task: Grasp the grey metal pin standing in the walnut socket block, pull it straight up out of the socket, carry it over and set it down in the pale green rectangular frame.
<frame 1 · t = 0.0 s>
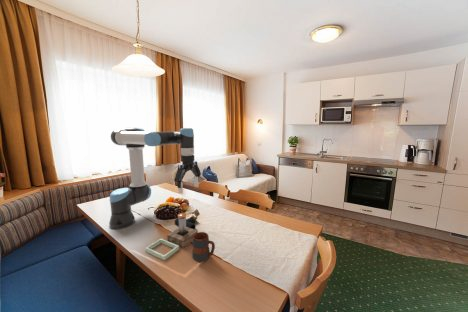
hand: (188, 189, 116), 28 cm above the table, fingers open, 13 cm apart
pale green rectangular frame: (162, 252, 102), on the table
mug: (204, 258, 98), on the table
pin: (183, 239, 112), point 1 cm above the table, touching socket block
pipe connector: (188, 226, 130), on the table
socket block: (183, 240, 112), on the table
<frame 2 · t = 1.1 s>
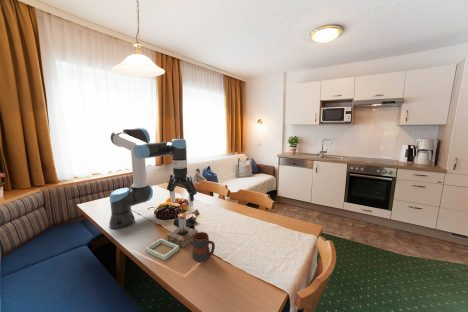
hand: (181, 204, 109), 22 cm above the table, fingers open, 13 cm apart
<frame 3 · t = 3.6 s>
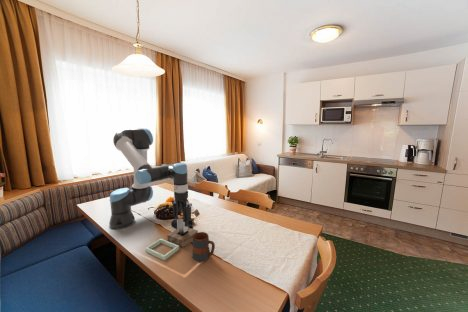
hand: (182, 230, 111), 7 cm above the table, fingers closed on pin, 4 cm apart
pin: (183, 239, 112), point 1 cm above the table, touching gripper, socket block
pipe connector: (185, 227, 128), on the table
everything else where it was.
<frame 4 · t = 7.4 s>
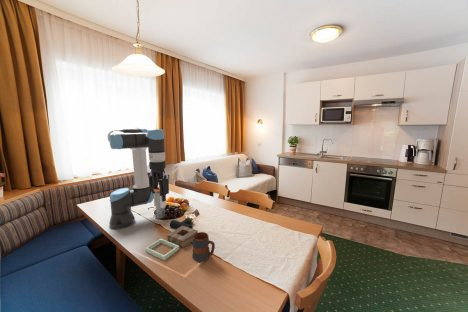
hand: (159, 206, 98), 26 cm above the table, fingers closed on pin, 4 cm apart
pin: (160, 216, 99), point 20 cm above the table, touching gripper
when the fingers open (8 cm above the table, at t = 11.2 s): pin drops 1 cm, resting on pale green rectangular frame.
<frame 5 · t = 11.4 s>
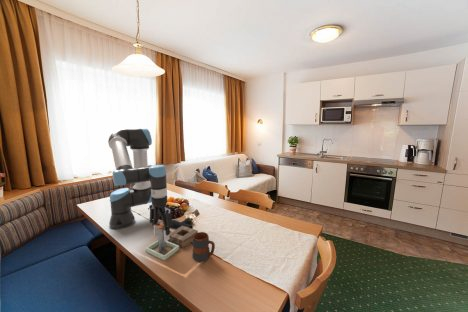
hand: (161, 237, 101), 8 cm above the table, fingers open, 7 cm apart
pin: (162, 250, 102), point 1 cm above the table, touching pale green rectangular frame
everything else where it was.
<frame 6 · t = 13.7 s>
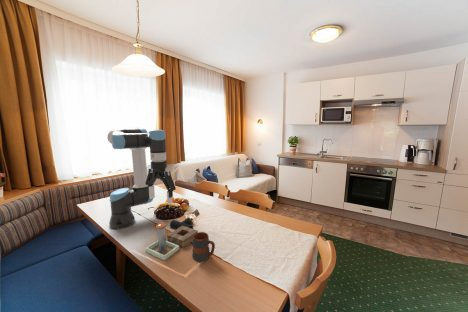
hand: (160, 200, 101), 27 cm above the table, fingers open, 13 cm apart
nothing on the table moved.
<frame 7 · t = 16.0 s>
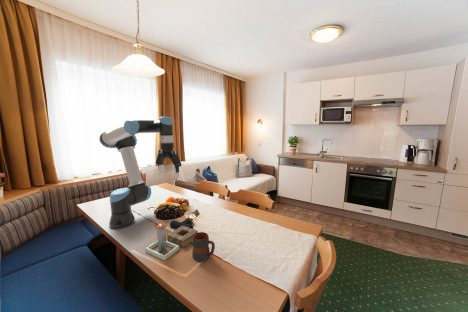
hand: (168, 176, 122), 35 cm above the table, fingers open, 13 cm apart
nothing on the table moved.
at the end: pin inside the target area on the pale green rectangular frame (0.0 cm from its centre), point 0.6 cm above the pale green rectangular frame's base; the gripper is holding nothing; pin touching pale green rectangular frame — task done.
